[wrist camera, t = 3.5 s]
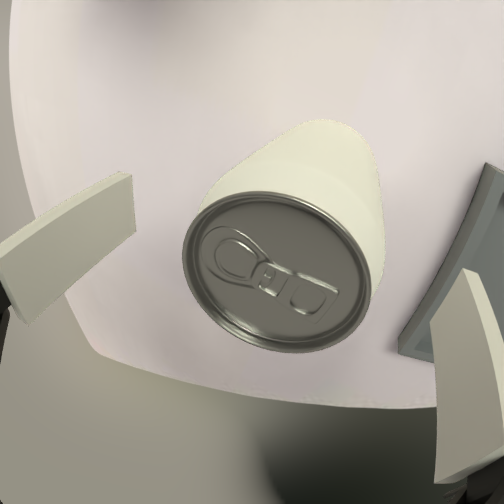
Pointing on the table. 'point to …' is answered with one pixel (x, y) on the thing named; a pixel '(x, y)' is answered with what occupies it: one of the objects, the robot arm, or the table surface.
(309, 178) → the can
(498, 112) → the table surface
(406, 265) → the table surface
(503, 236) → the tray
